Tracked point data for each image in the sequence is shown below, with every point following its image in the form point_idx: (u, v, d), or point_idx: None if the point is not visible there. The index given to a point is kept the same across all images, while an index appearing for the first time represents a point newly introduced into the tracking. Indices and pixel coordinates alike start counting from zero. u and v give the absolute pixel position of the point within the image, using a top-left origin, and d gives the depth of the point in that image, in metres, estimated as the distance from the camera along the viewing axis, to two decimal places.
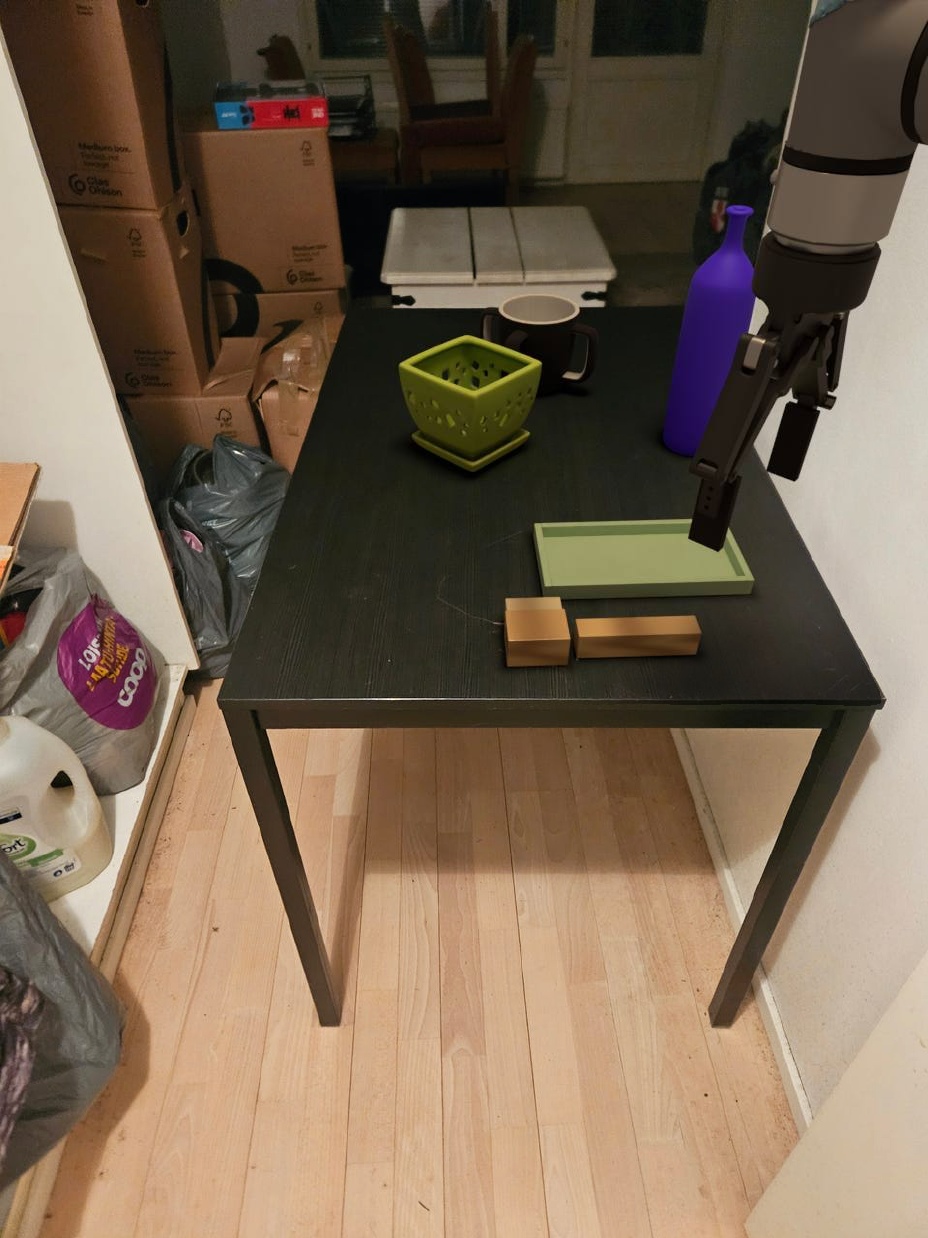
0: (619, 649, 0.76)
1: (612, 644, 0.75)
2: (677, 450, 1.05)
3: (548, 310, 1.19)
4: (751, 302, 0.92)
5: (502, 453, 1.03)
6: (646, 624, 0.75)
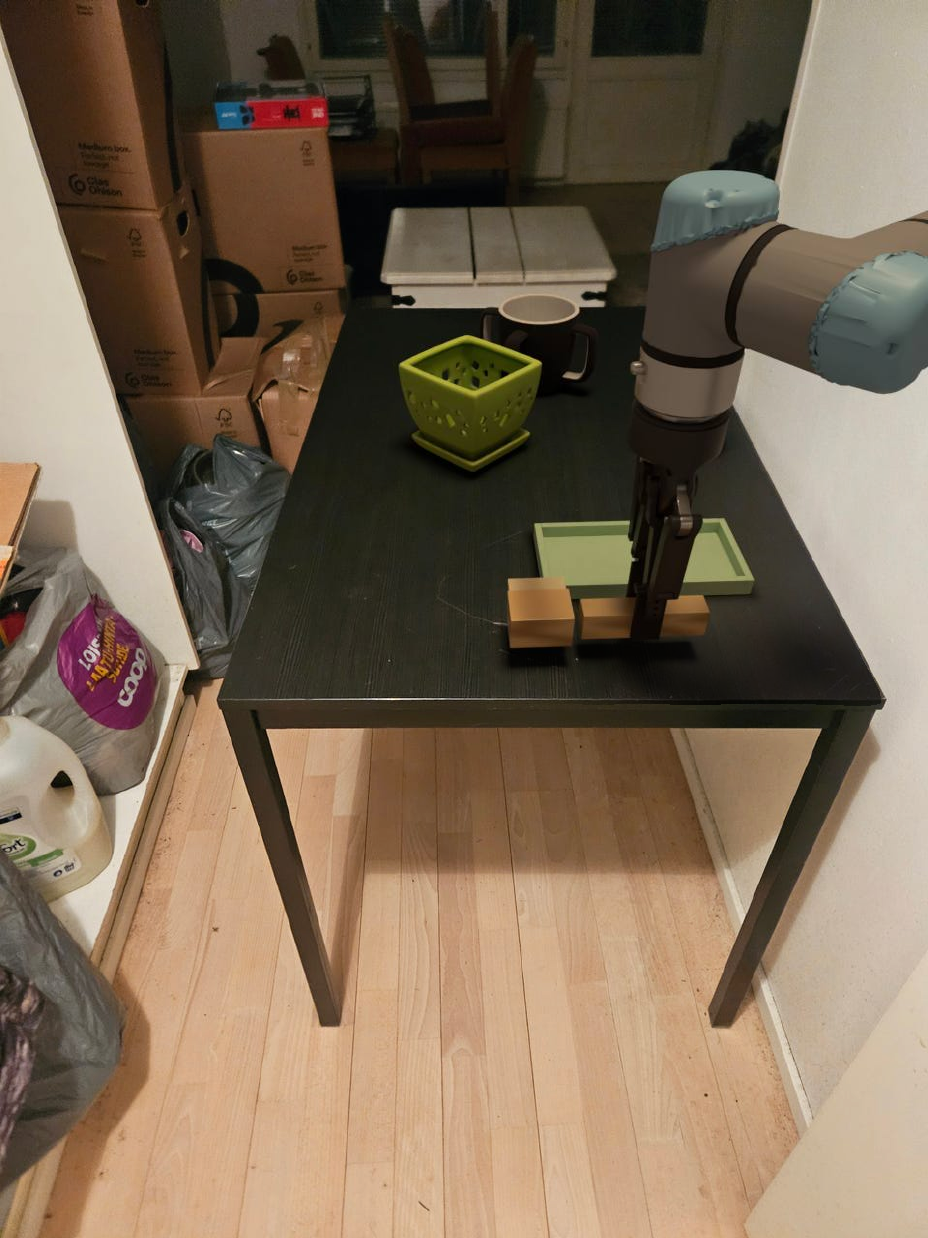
0: (625, 629, 0.73)
1: (618, 624, 0.73)
2: None
3: (548, 310, 1.19)
4: None
5: (502, 453, 1.03)
6: None
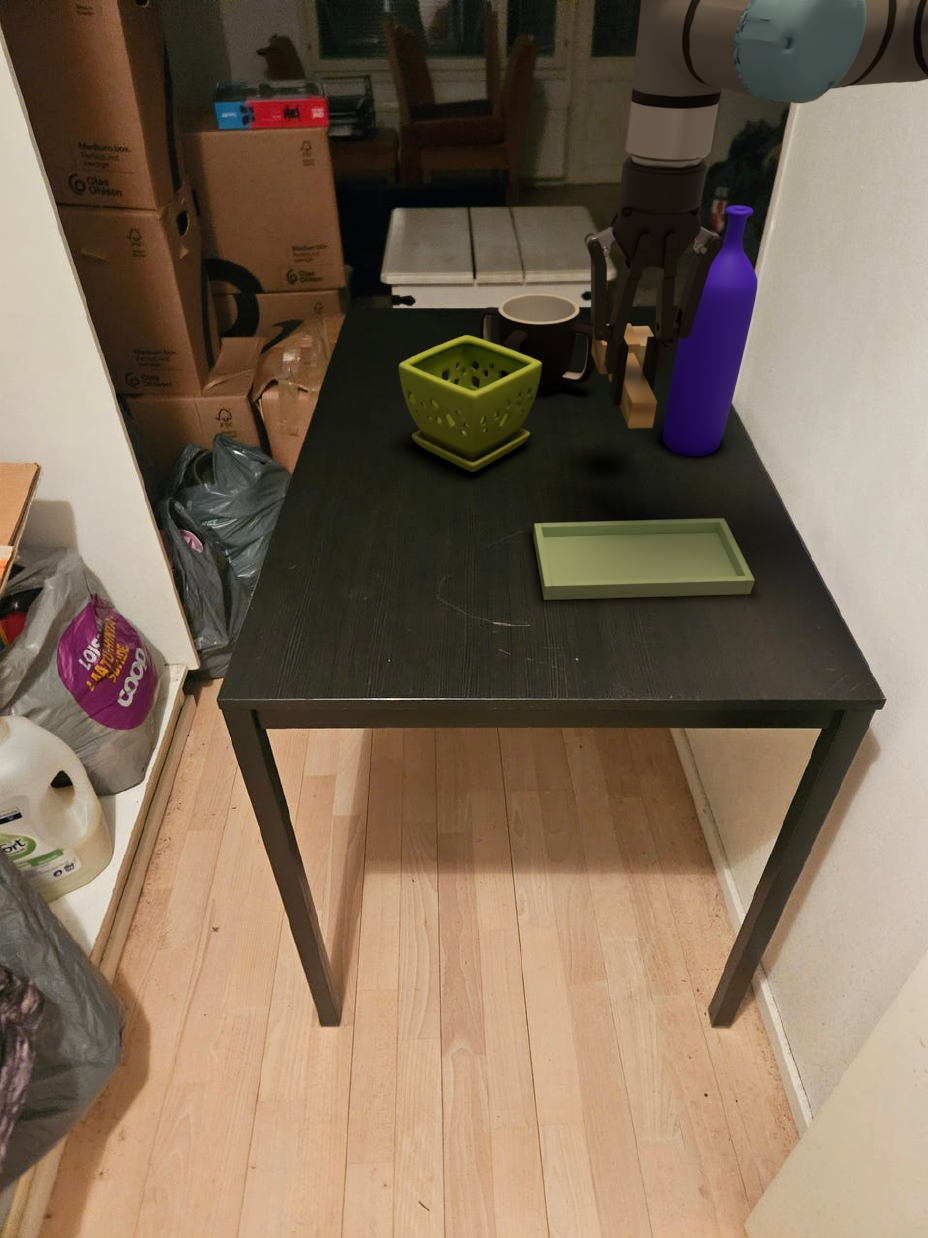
0: None
1: None
2: (677, 450, 1.05)
3: (548, 310, 1.19)
4: (751, 302, 0.92)
5: (502, 453, 1.03)
6: (636, 379, 0.82)
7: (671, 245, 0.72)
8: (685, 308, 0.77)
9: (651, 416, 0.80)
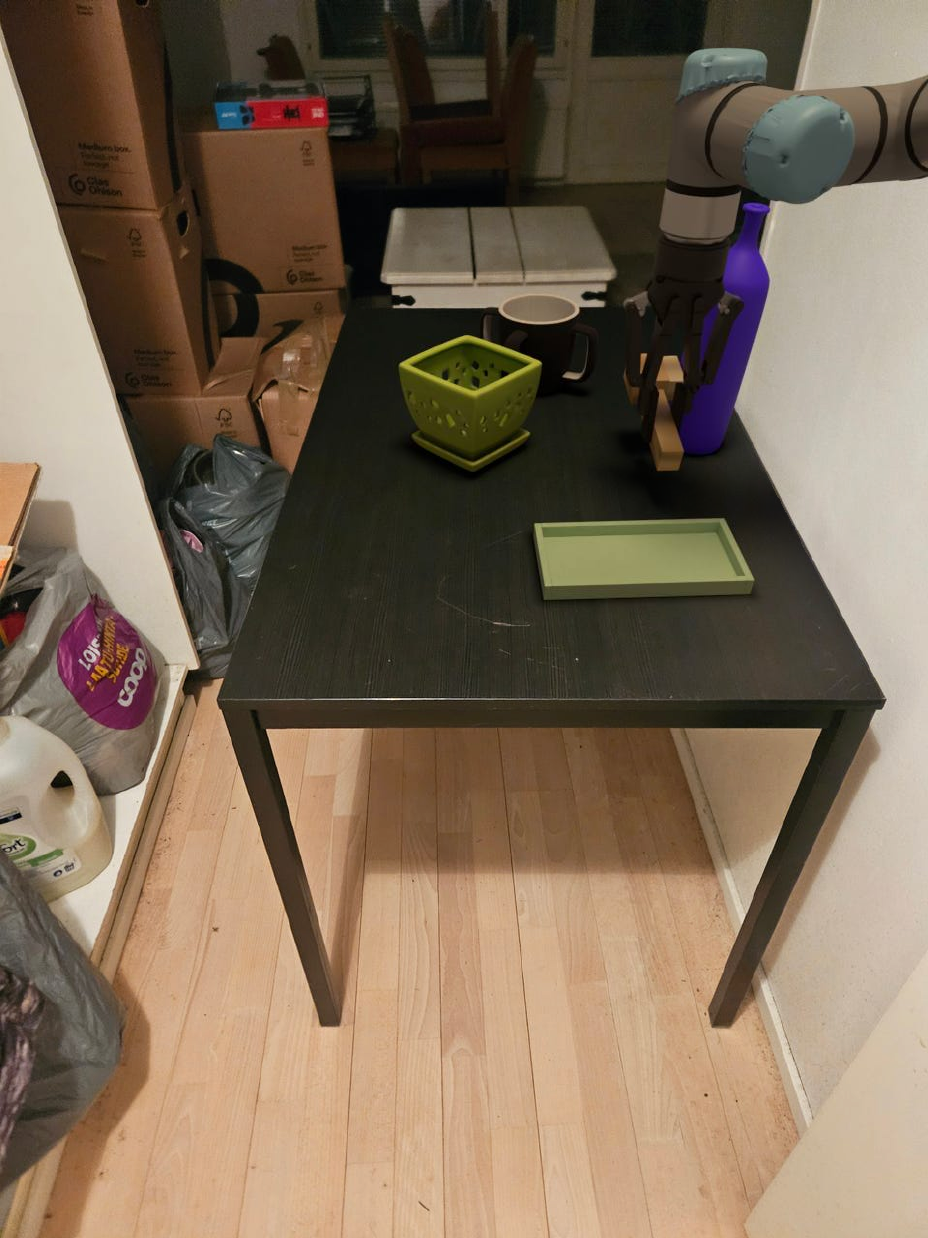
0: None
1: None
2: None
3: (548, 310, 1.19)
4: (762, 301, 0.92)
5: (502, 453, 1.03)
6: (665, 423, 0.93)
7: (698, 307, 0.83)
8: (710, 359, 0.88)
9: (678, 462, 0.91)
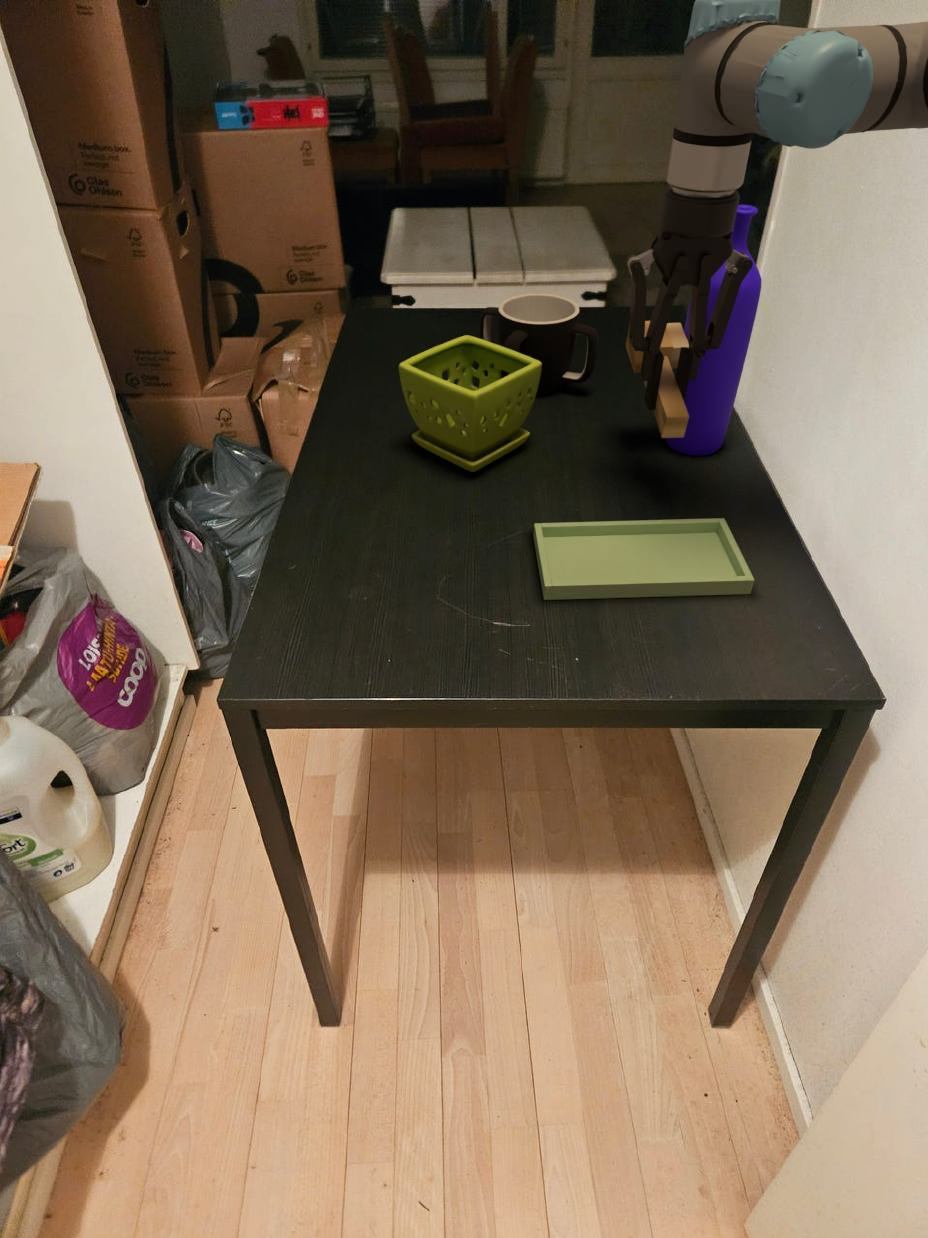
0: None
1: None
2: (679, 449, 1.05)
3: (548, 310, 1.19)
4: (754, 302, 0.92)
5: (502, 453, 1.03)
6: (669, 389, 0.90)
7: (706, 266, 0.80)
8: (716, 322, 0.85)
9: (683, 428, 0.88)
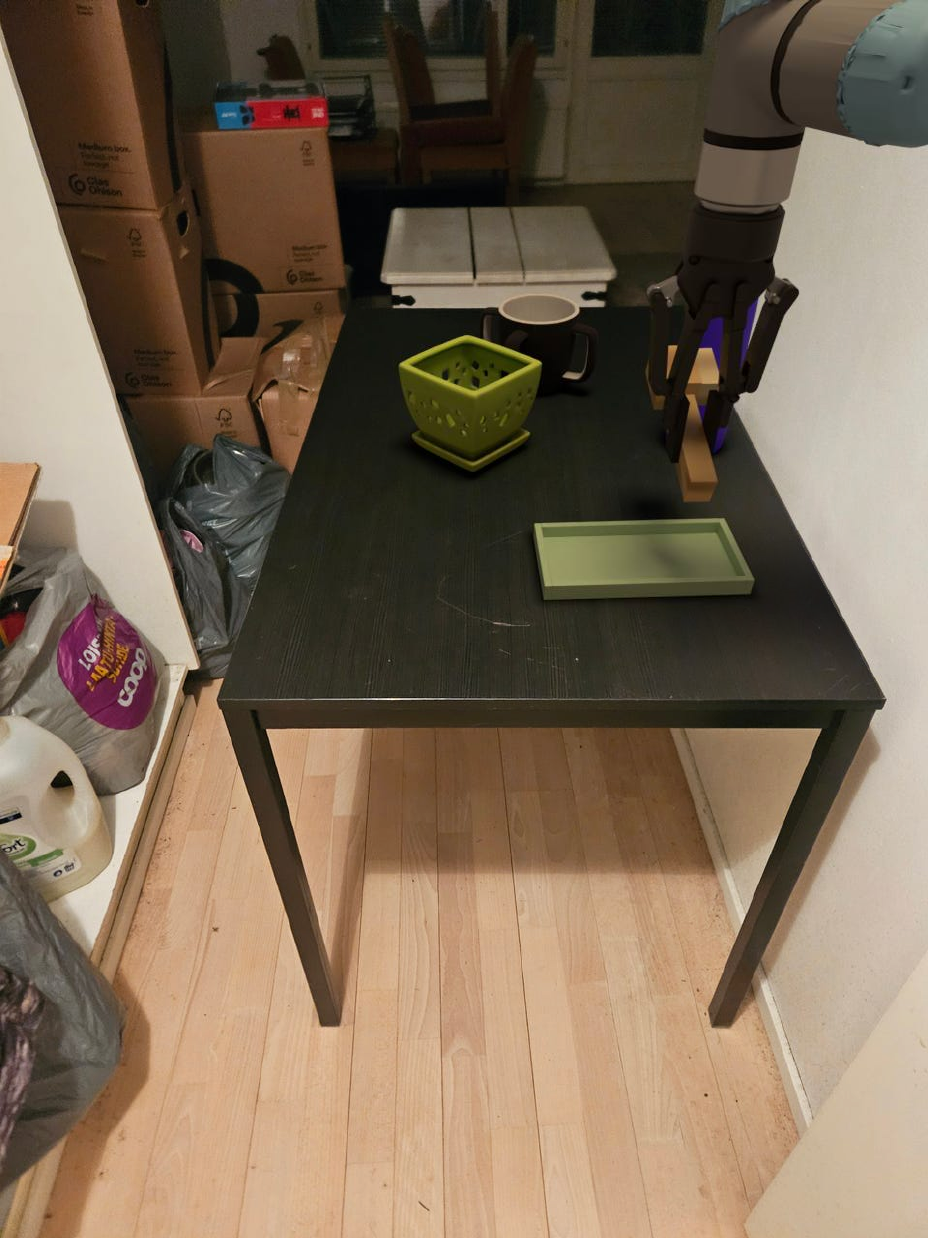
0: None
1: None
2: None
3: (548, 310, 1.19)
4: (754, 302, 0.92)
5: (502, 453, 1.03)
6: (696, 442, 0.76)
7: (742, 295, 0.66)
8: (753, 361, 0.71)
9: (709, 492, 0.75)
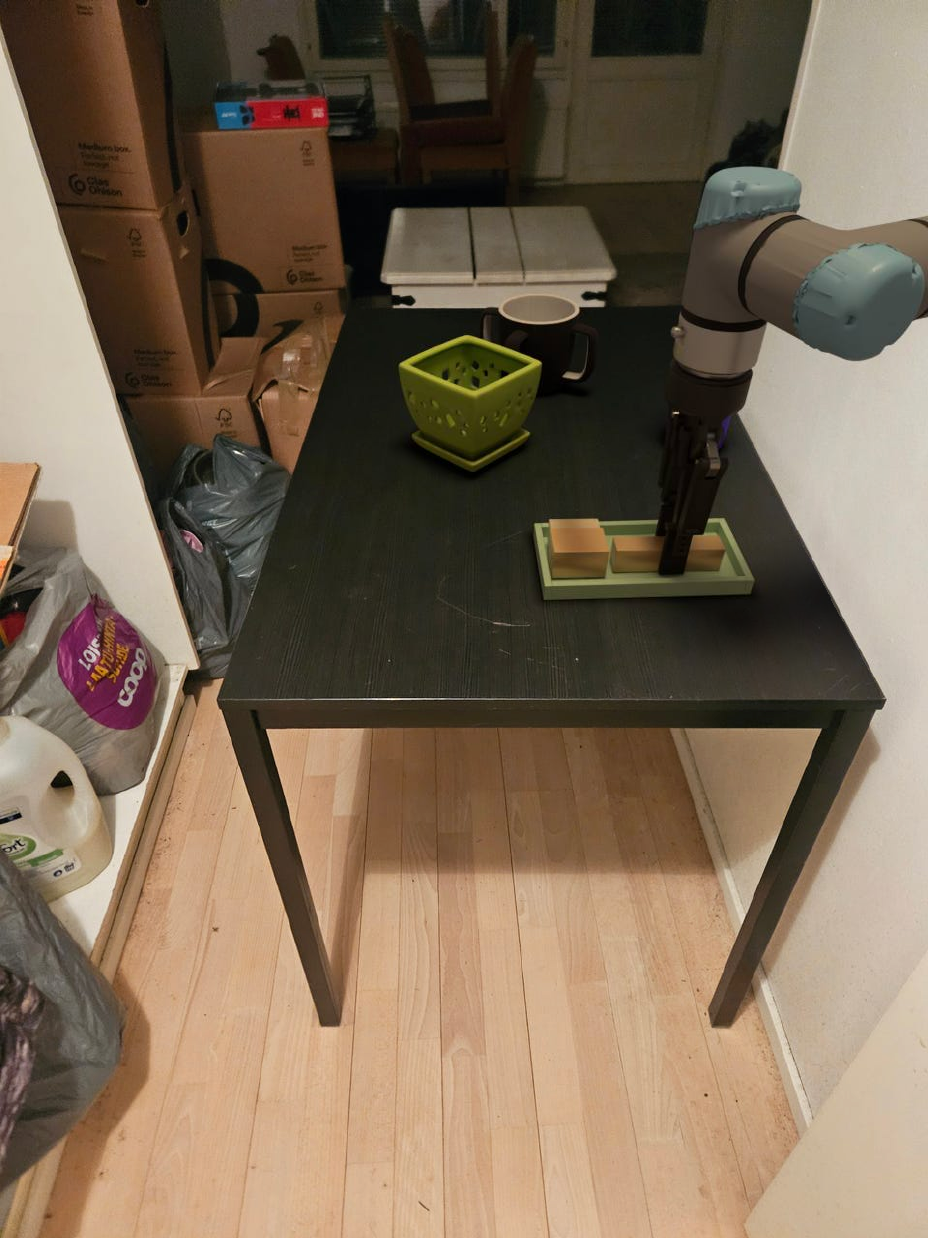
0: (651, 564, 0.85)
1: (646, 558, 0.84)
2: None
3: (548, 310, 1.19)
4: None
5: (502, 453, 1.03)
6: None
7: None
8: None
9: None
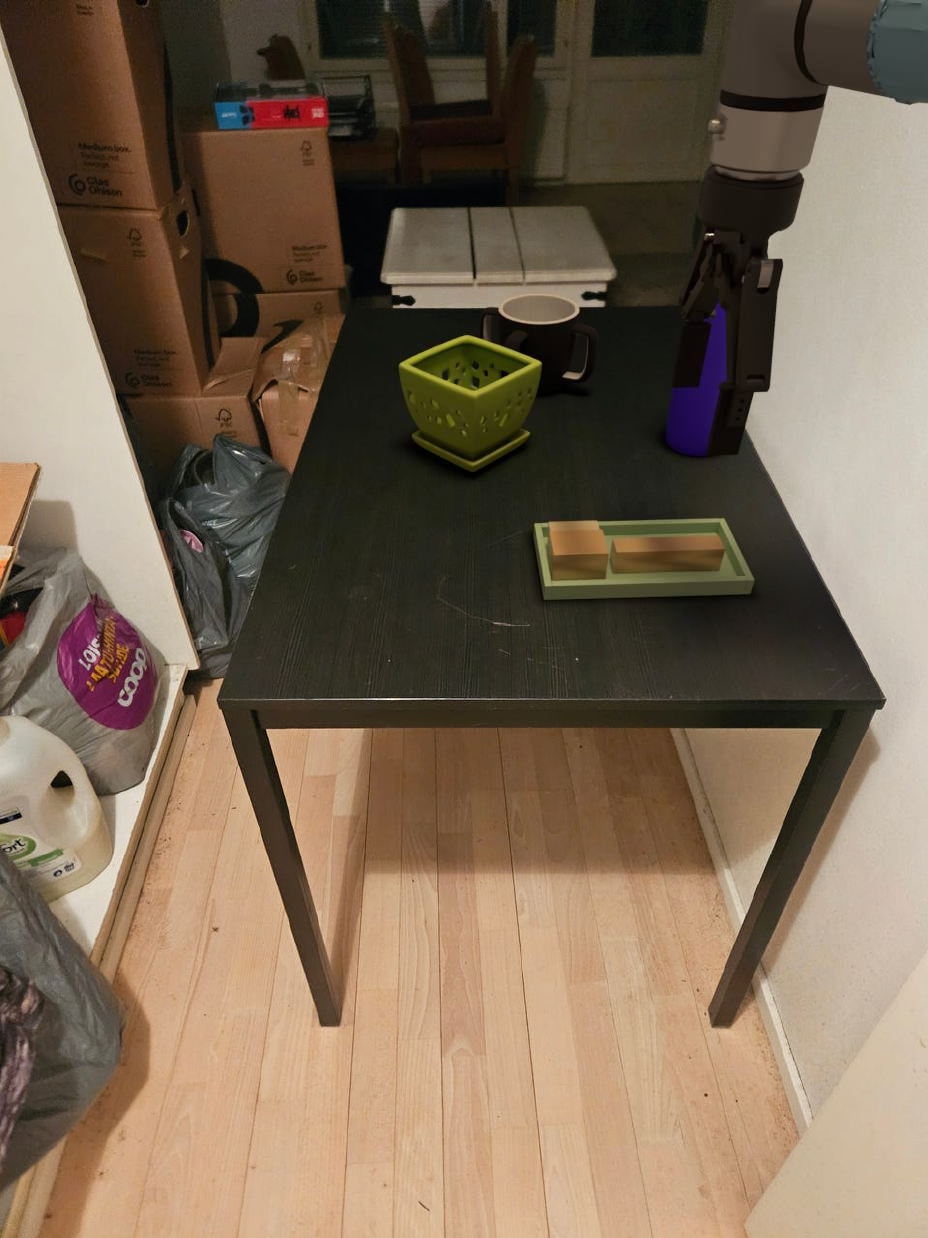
0: (651, 564, 0.85)
1: (646, 559, 0.84)
2: (679, 450, 1.05)
3: (548, 310, 1.19)
4: None
5: (502, 453, 1.03)
6: (676, 542, 0.84)
7: None
8: None
9: None
